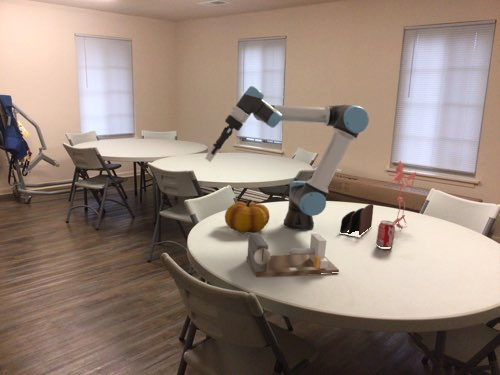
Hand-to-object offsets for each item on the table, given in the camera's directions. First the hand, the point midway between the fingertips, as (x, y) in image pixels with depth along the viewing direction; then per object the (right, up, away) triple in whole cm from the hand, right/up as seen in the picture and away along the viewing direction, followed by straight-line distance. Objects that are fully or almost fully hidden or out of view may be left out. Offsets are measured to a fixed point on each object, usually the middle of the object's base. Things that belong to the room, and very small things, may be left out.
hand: (208, 158), depth 189 cm
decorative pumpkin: (+17, -33, +17) cm, 41 cm away
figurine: (+93, -33, +38) cm, 106 cm away
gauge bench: (+34, -43, -24) cm, 60 cm away
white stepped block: (+40, -42, -25) cm, 63 cm away
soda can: (+79, -40, +3) cm, 88 cm away
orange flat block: (+43, -43, -28) cm, 67 cm away
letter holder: (+71, -35, +25) cm, 83 cm away
